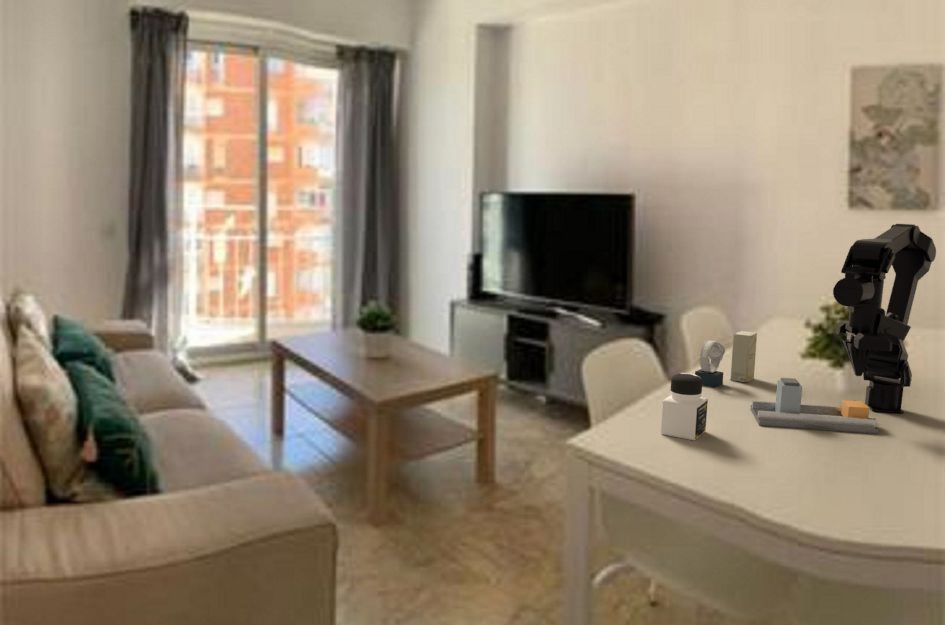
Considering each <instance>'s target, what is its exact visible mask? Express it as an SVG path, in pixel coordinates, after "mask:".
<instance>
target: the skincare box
mask: <svg viewBox="0 0 945 625" xmlns="http://www.w3.org/2000/svg"><path fill="white" fill-rule="evenodd" d="M757 337H758V332H754V331H753V332H752V331H744V330H740V331H737V332H736V333H733V337H732V339H733V340H732V352H731V353H732V354H731V368H730V381H734V382H739V383H740V382H741V383H748V382H750V381H752V380H754V379H755V367H756V355H757V354H756V353H757V341H758V340H757Z"/></svg>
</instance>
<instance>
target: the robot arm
mask: <svg viewBox="0 0 945 625" xmlns="http://www.w3.org/2000/svg"><path fill="white" fill-rule="evenodd" d="M936 255H937V248H936V244H935V242H934V240H933V238H932V237H931V236H929V235H927V234H926V233H924V232H923V231H922V230H921V229H920V227H919V225H916V224H912V223H910V224H909V223H908V224H907V223H895V224H892V225H891V226H890V228H889V229H887V230H886V231H884V232H883V233H881V234H879V235H877V236H876V237H874V238H863V239H857V240H855V241H854V242H853V244H852V245H851V246H850V248H849V250H848V252H847V255H846V257H845V261H844V262H843V266H842V268H841V270H840V271H841V274H844V277H843V278H841V279H839V280H838V281H837V282H836V283H835V285H834V286H833V289H832V295H833V297H834V298H833V299H834V300H835V301H836V302H837V303H838V304H839V305H841V306H842V307H846V309H847V310H848V311H849V316H848V320H840V321H838V323H836V324H835V331H834V332H835V334H836V335H838V336H842V335H843V334H846V339H845V338H844V339H843V338H842V340H841V341H842V342H843V345H844V347H845V350H846V353H847V355H848V359H849V360H850V364H851V367H852V370H853V372H854V375H855V376H856V377H863V380H864V381H869V385H867V386H866V388H865V389H866V390H865V397H864V398H865V400H864V403H865V404H866V405H867V406H868V407H869V410H871V411H872V412H883V413H895V414H896V413H897V414H904V413H905V412H904V409H902V404H903V396H904V388H906V387H908V388H910V387H911V386H912V385H911V384H912V376H913V375H912V374H913V373H912V370H911V368H910V364H909V360H908V358H909V353H908V352H907V349H906V345H905V344H904V341H905V340H906V337H907V336H908V333H909V332H910V330H911V329H912V326H911V325H908V324H909V319H910V316H911V312H912V308H913V303H914V299H915V295H916V291H917V287H918V283H919V280H921V279H922V278H923V277H924V276H925V275H926V274H927V273H928V272H930V270H931V265H932V262H934V261H935V259H936ZM891 267H892V269H893V271H894V274H895V275H894V276H895V277H894V280H893V283H892V285H893V286H892V289H891V293H890V297H889V300H888V305H887V309H886V310H885V309H884V308H882V302H883V293H884V286H885V285H884V283H885V279H887V278H886V274H888V273H889V271H890V269H891Z"/></svg>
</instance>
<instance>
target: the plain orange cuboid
mask: <svg viewBox="0 0 945 625" xmlns="http://www.w3.org/2000/svg"><path fill="white" fill-rule="evenodd" d="M841 402H842V403H841V407H842V410H841V414H842V415H843V416H845V417H859V418H870V417H869V415H870V408H869V407H868V406H867V405H866V404H865V401H860V400H847V399H845V400H844V399H843V400H841Z"/></svg>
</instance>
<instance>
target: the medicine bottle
mask: <svg viewBox="0 0 945 625" xmlns="http://www.w3.org/2000/svg"><path fill="white" fill-rule="evenodd" d="M702 381H703V380H702V378H701V377H699V376H697V375H695V373H688V372H687V373H686V372H685V373H684V372H681V373H675V374H673V375H672V376H671V377H670V391H669V392H670V393H669V394H670V395H668V397H666V398H665V399H663V400H662V408H661V424H660V434H661V435H664V436H668V437H669V436H670V437H674V438H679V439H684V440H690V441H696V440H698V438H700V437H701V436H702V435H703V434H704V433H705V432H706V429H707V428H706V426H707V415H708V403H709V402H708V400H709V399H708V398H707V397H703V396H702V392H703V385H702Z"/></svg>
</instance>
